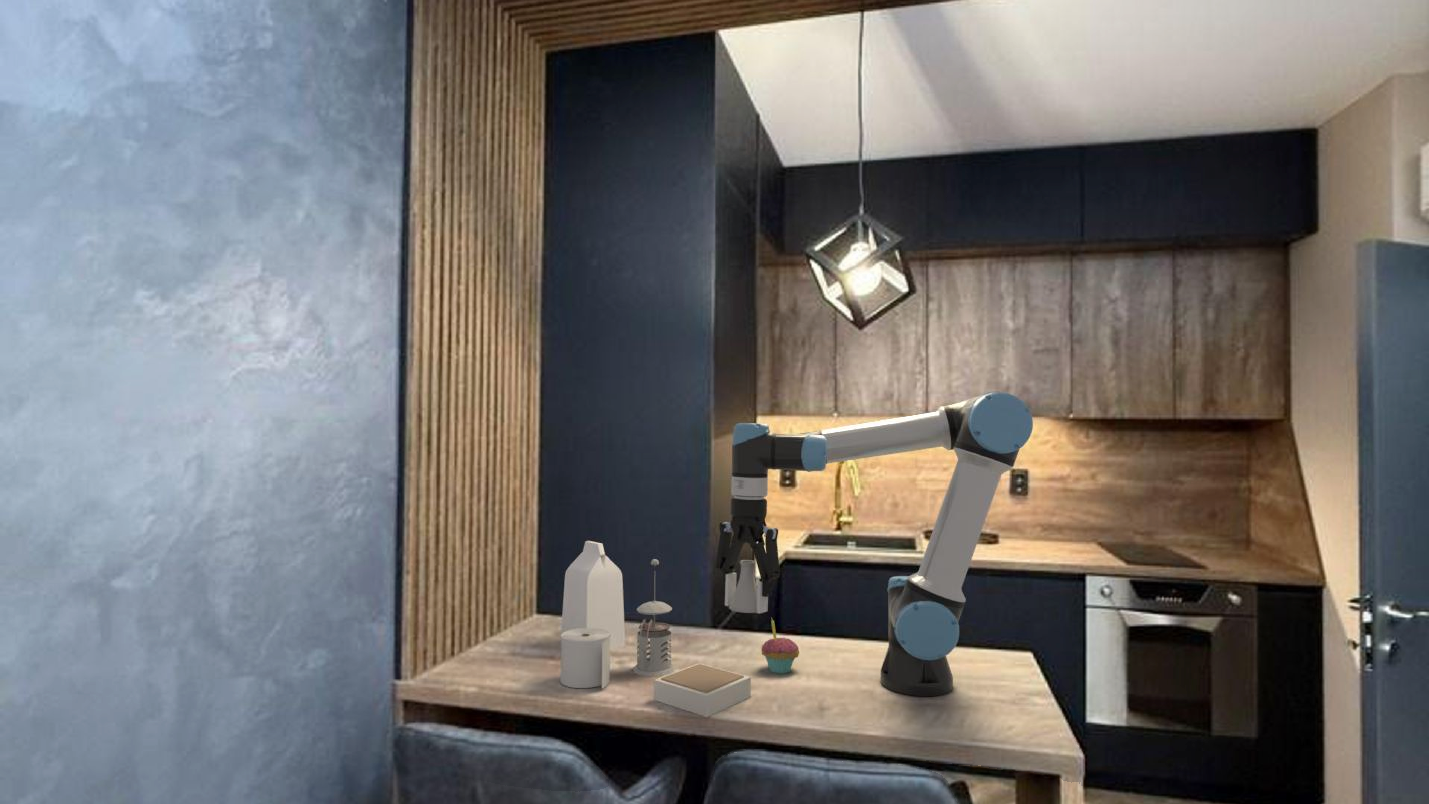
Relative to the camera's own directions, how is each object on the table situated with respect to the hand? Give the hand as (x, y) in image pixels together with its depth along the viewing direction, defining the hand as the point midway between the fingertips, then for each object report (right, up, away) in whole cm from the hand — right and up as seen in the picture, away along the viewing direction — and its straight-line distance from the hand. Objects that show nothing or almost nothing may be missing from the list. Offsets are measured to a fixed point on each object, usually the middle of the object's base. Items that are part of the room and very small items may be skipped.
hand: (745, 608), depth 152 cm
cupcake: (+9, -19, +16) cm, 26 cm away
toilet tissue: (-34, -18, +8) cm, 40 cm away
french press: (-21, -19, +15) cm, 32 cm away
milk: (-37, -19, +34) cm, 54 cm away
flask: (0, -1, 0) cm, 1 cm away
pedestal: (-9, -18, -2) cm, 20 cm away
